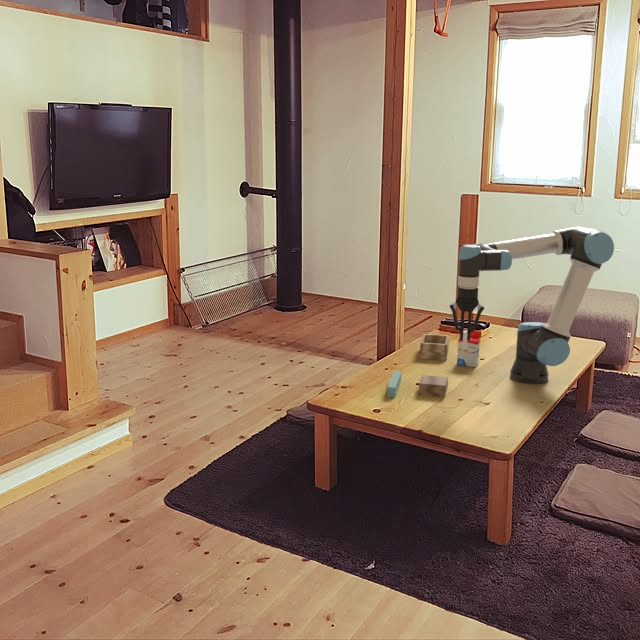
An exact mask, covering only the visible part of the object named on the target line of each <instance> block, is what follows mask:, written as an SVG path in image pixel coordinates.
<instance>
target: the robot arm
mask: <svg viewBox="0 0 640 640" xmlns="http://www.w3.org/2000/svg"><path fill="white" fill-rule="evenodd" d="M614 251H615V243H614V240H613V238H612V237H611V236H610V235H609V234H608V233H607V232H604V231H602V230H598V229H594V228H589V227H586V226H574V227H568V228H564V229H557V230H553V231H552V232H551V233H550V234H542V235H536V236H531V237H522V238H518V239H517V238H516V239H511V240H502V241H498V242H492V243H485V244H483V243H473V244H463V245H462V246H460V248H459V256H458V277H457V286H458V287H457V291H456V292H457V295H456V299H455V301H454V302H453V303H450V304H449V308H450V310H451V312H452V316H453V317H452V319H453V322H454V328H455V330H456V331H459V338H460V340H463V346H462V349H467V340H470V335H472V333H471V332H472V331H476V330H477V326H478V324H479V320H480V317H481V315H482V313H483V311H484V310H485V305H484V304H483V305H482V304H481V303H480V301H479V299H478V298H479V288H478V287H479V282H480V280H479V279H480V272H484V271H485V272H486V271H487V272H490V271H492V272H493V271H499V272H501V271H507V270H510V268H511V267H512V264H513V263H512V262H513V260H518V259H523V258H530V257H539V256H544V255H549V254H554V255H556V256H561V255H570V257H569V260H570V263H571V265H570V268H569V270H568V272H567V276H566V277H565V280H564V281H563V284H562V287H561V289H560V292H559V293H558V296H557V298H556V301H555V304H554V306H553V308H552V309H551V313H550V315H549V317H548V319H547V322H541V321H540V322H539V321H537V322H536V321H534V322H533V321H532V322H531V321H528V322H527V321H526V322H522V323H521V322H520V324H518V326H517V331H516V332H517V334H516V335H517V336H516V349H515V359H514V361H513V364H512V366H511V368H510V371H509V376H510V379H512V380H513V381H517V382H519V383H520V382H521V383H524V384H542V383H546V382H549V371H548V367H558V366H559V365H561V364H563V363H565V362H566V361H567V359H568V358H569V356H570V353H571V347H570V345H569V341H570V339H571V337H572V335H571V333H570V329H571V326H572V324H573V321H574V319H575V317H576V315H577V312H578V310H579V307H580V305H581V304H582V301H583V299H584V296H585V294H586V292H587V289H588V287H589V284H590V283H591V280H592V278H593V275H594V273H596V272H598V271H600V270H601V267H602V265H603V264H605V263H606V262H609V260H610V259H612V256H613V255H614ZM457 307H458V309H459V310H460V311H461V313H460V326H459V319H458V315H457V310H456V309H457ZM475 309H477V312H476V314H475V315H476V316H475V319H474V321H473V322H474V323H473V325H472V318H473V317H472V315H473V314H472V313H473V311H475ZM466 312H468V313H467V314H468V315H467V329H466V330H467V331H464V330H465V316H466V315H465V314H466Z"/></svg>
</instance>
